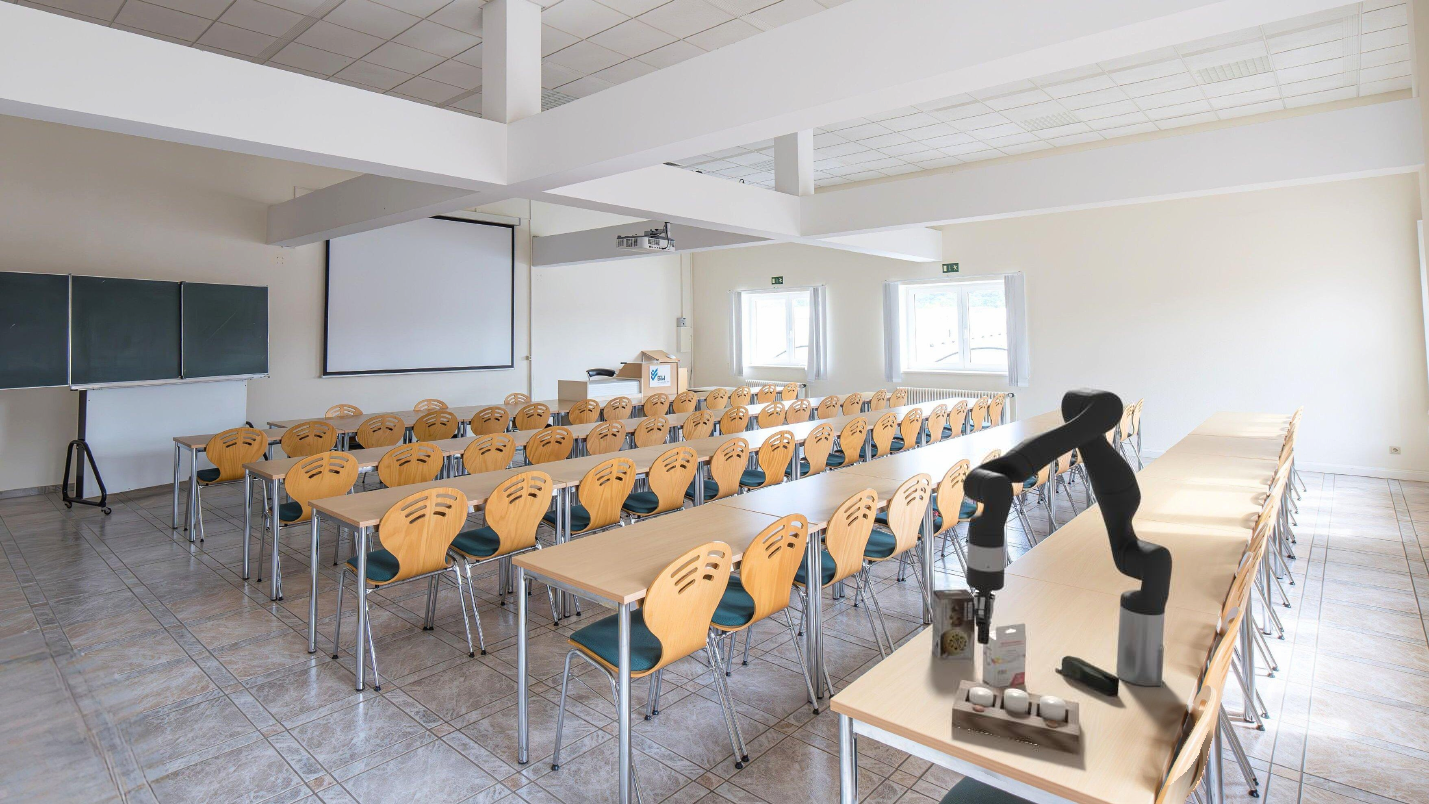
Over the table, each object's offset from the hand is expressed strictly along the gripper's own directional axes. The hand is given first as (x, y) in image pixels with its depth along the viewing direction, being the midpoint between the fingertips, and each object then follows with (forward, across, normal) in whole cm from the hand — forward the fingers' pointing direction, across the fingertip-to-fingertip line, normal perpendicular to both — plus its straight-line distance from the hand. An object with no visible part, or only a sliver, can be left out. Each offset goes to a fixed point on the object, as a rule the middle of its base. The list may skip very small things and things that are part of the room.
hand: (983, 642), depth 157 cm
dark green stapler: (+17, +26, -21) cm, 38 cm away
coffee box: (+17, +29, +10) cm, 35 cm away
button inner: (+14, 0, -14) cm, 20 cm away
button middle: (+14, 0, -7) cm, 16 cm away
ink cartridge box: (+17, +19, -3) cm, 25 cm away
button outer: (+15, 0, 0) cm, 15 cm away
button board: (+16, 0, -7) cm, 18 cm away
